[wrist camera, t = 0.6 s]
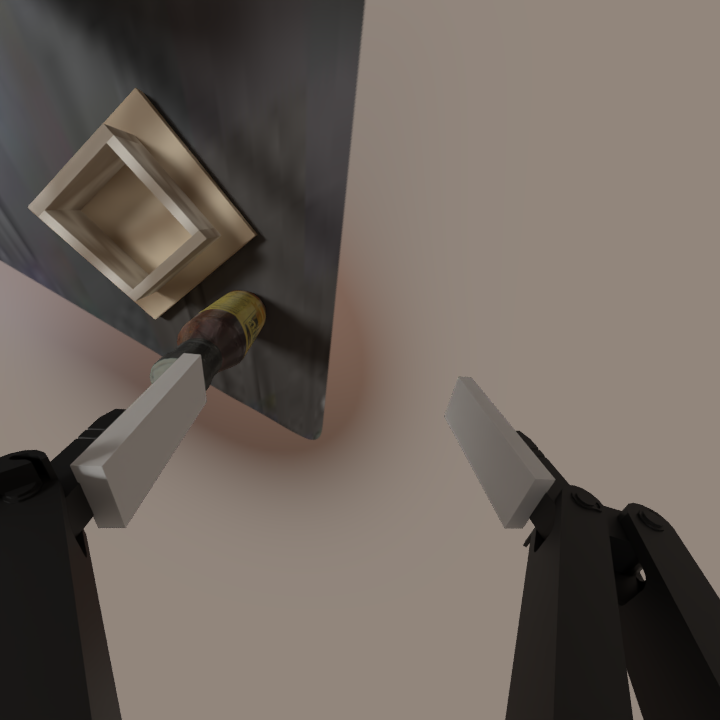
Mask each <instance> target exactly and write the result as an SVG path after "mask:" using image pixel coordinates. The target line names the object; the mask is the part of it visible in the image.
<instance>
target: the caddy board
mask: <svg viewBox="0 0 720 720" xmlns="http://www.w3.org/2000/svg"><path fill="white" fill-rule="evenodd" d="M28 209H30V210H31V211H32V212H33V213H34V214H35V215H36V216H38V217H39V218H40V219H41V220H42V221H43V222H44V223H46V224H47V225H48V226H49V227H50V228H51V229H52V230H54V231H55V232H56V233H57V234H58V235H59V236H60V237H62V238H63V239H64V240H65V241H66V242H67V243H68V244H69V245H71V246H72V247H73V248H74V249H75V250H76V251H77V252H79V253H80V254H81V255H82V256H83V257H84V258H85V259H87V260H88V261H89V262H90V263H91V264H92V265H93V266H95V267H96V268H97V269H98V270H99V271H100V272H101V273H103V274H104V275H105V276H106V277H107V278H108V279H109V280H111V281H112V282H113V283H114V284H115V285H116V286H117V287H119V288H120V289H121V290H122V291H123V292H124V293H125V294H127V295H128V296H129V297H130V298H131V299H132V300H133V301H135V302H136V303H137V304H138V305H139V306H140V307H141V308H142V309H144V310H145V311H146V312H147V313H148V314H149V315H150V316H152V317H153V318H154V319H157V318H158V317H160V316H161V315H162V314H164V313H165V312H166V311H167V310H168V309H170V308H171V307H172V306H173V305H174V304H175V303H177V302H178V301H179V300H180V299H181V298H183V297H184V296H185V295H186V294H187V293H189V292H190V291H191V290H192V289H193V288H195V287H196V286H197V285H198V284H199V283H200V282H202V281H203V280H204V279H205V278H206V277H208V276H209V275H210V274H211V273H212V272H214V271H215V270H216V269H217V268H218V267H220V266H221V265H222V264H223V263H224V262H225V261H227V260H228V259H229V258H230V257H231V256H233V255H234V254H235V253H236V252H237V251H239V250H240V249H241V248H242V247H243V246H245V245H246V244H247V243H248V242H249V241H250V240H252V239H253V238H254V237H255V236H256V235H258V234H257V233H256V232H255V231H254V229H253V228H252V227H251V226H250V224H249V223H248V222H247V221H246V220H245V218H244V217H243V216H242V215H241V213H240V212H239V211H238V210H237V208H236V207H235V206H234V205H233V203H232V202H231V201H230V200H229V198H228V197H227V196H226V195H225V193H224V192H223V191H222V190H221V189H220V187H219V186H218V185H217V184H216V182H215V181H214V180H213V179H212V177H211V176H210V175H209V174H208V172H207V171H206V170H205V169H204V167H203V166H202V165H201V164H200V162H199V161H198V160H197V159H196V158H195V156H194V155H193V154H192V153H191V151H190V150H189V149H188V148H187V146H186V145H185V144H184V143H183V141H182V140H181V139H180V138H179V136H178V135H177V134H176V133H175V131H174V130H173V129H172V128H171V127H170V125H169V124H168V123H167V122H166V120H165V119H164V118H163V117H162V115H161V114H160V113H159V112H158V110H157V109H156V108H155V107H154V105H153V104H152V103H151V102H150V100H149V99H148V98H147V97H146V96H145V94H144V93H143V92H142V91H140V90H138V89H137V88H135V89H134V90H133V91H132V92H131V93H130V94H129V95H128V97H127V98H126V99H125V100H124V101H123V102H122V103H121V104H120V105H119V107H118V108H117V109H116V110H115V111H114V112H113V113H112V114H111V115H110V117H109V118H108V119H107V120H106V121H105V122H104V123H103V124H102V125H101V126H100V127H99V128H98V129H97V130H96V132H95V133H94V134H93V135H92V136H91V137H90V138H89V139H88V141H87V142H86V143H85V144H84V145H83V146H82V147H81V148H80V149H79V151H78V152H77V153H76V154H75V155H74V156H73V157H72V158H71V159H70V161H69V162H68V163H67V164H66V165H65V166H64V167H63V168H62V169H61V171H60V172H59V173H58V174H57V175H56V176H55V177H54V178H53V179H52V181H51V182H50V183H49V184H48V185H47V186H46V187H45V188H44V190H43V191H42V192H41V193H40V194H39V195H38V196H37V197H36V198H35V200H34V201H33V202H32V203H31V204H30V205H29V206H28Z"/></svg>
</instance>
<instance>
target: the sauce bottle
mask: <svg viewBox="0 0 720 720" xmlns="http://www.w3.org/2000/svg"><path fill="white" fill-rule="evenodd" d="M265 319H266V309H265V306H264V304H263V303H262V301H261V300H260V299H259V298H258V297H257V296H256V295H255V294H253V293H251V292H248V291H240V290H239V291H238V290H236V291H232V292H230V293H227V294H226V295H224V296H223V297H221V298H220V299H219V300H217V301H216V302H214V303H213V304H211V305H210V306H208V307H207V308H205V309H204V310H203V311H201V312H200V313H198V314H197V315H196V316H195V317H194V318H193V319H192V320H190V321H189V322H188V323H187V324H185V325H184V327H183V328H182V330H181V331H180V333H179V335H178V341H177V344H178V347H177V348H176V350H174V351H173V352H171V353H167V354H166V355H164V356H163V357H162V358H161V359H159V360H158V361H157V362H156V363H155V364H154V365H153V367H152V369H151V374H150V380H151V383H152V384H153V383H154V382H155V381H156V380H157V379H158V378H159V377H160V376H161V375H162V374H163V373H164V372H165V371H166V370H167V369H168V368H169V367H170V366H171V365H172V364H173V363H174V362H175V361H176V360H177V359H178V358H179V357H180V356H181V355H182V354H183V353H187V354H199V355H201V359H202V367H203V375H204V383H205V391H206V390H207V389H208V387H209V386H210V384H211V381H212V378H213V377H214V375H216V374H217V373H218V372H221V371H223V370H226V369H228V368H231V367H233V366H235V365H237V364H238V363H240V362H241V360H242V359H243V358H244V356H245V355H246V353H247V351H248V350H249V348H250V347H251V345H252V344H253V342H254V340H255V339H256V337H257V335H258V334H259V332H260V331H261V329H262V327H263V326H264V323H265Z"/></svg>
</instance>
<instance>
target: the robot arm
mask: <svg viewBox="0 0 720 720" xmlns="http://www.w3.org/2000/svg"><path fill="white" fill-rule="evenodd" d="M206 402H207V400H206V391H205V383H204V375H203V367H202V359H201V355H199V354H187V353H183V354H182V355H181V356H180V357H179V358H178V359H177V360H176V361H175V362H174V363H173V364H172V365H171V366H170V367H169V368H168V369H167V370H166V371H165V372H164V373H163V374H162V375H161V376H160V377H159V378H158V379H157V380H156V381H155V382H154V383H153V384H152V385H151V386H150V387H149V388H148V389H147V390H146V391H145V392H144V393H143V394H142V395H141V396H140V397H139V398H138V399H137V400H136V401H135V402H134V403H133V404H132V405H131V406H130V407H129V408H128V409H114V410H113V411H111V412H109V413H107V414H105V415H103V416H101V417H100V418H98V419H97V420H96V421H95V422H94V423H93V424H92V425H91V426H90V427H89V428H88V430H85V431H84V432H83V433H82V434H81V435H80V436H79V437H78V439H76V440H74V441H73V442H72V443H71V444H70V445H69V446H68V447H66V448H65V449H64V450H63V451H62V452H61V453H60V454H59V455H58V456H56V457H55V458H54V459H53V460H52V461H51V462H50V461H49V459H48V457H47V455H46V454H45V453H44V452H41V451H38V450H25V451H19V452H15V453H11V454H8V455H5V456H2V457H0V720H122V719H121V714H120V708H119V703H118V698H117V693H116V687H115V682H114V677H113V672H112V666H111V661H110V656H109V651H108V646H107V640H106V635H105V630H104V625H103V620H102V614H101V609H100V605H99V600H98V594H97V588H96V584H95V578H94V573H93V568H92V562H91V557H90V552H89V547H88V541H87V536H86V533H85V532H84V527H85V526H86V525H87V523H88V522H89V521H90V520H91V518H92V517H94V519H95V522H96V524H97V526H98V528H126V526H127V525H128V523H129V522H130V520H131V519H132V517H133V516H134V514H135V512H136V511H137V509H138V508H139V506H140V504H141V503H142V502H143V500H144V498H145V497H146V495H147V494H148V492H149V491H150V489H151V488H152V486H153V484H154V483H155V481H156V480H157V478H158V477H159V475H160V474H161V472H162V470H163V469H164V467H165V466H166V464H167V463H168V461H169V459H170V458H171V456H172V455H173V453H174V451H175V450H176V449H177V447H178V446H179V444H180V442H181V441H182V439H183V438H184V436H185V434H186V433H187V432H188V430H189V429H190V427H191V425H192V424H193V422H194V421H195V419H196V417H197V416H198V414H199V413H200V411H201V410H202V408H203V407H204V405H205V404H206ZM444 417H445V419H446V421H447V422H448V424H449V426H450V428H451V430H452V432H453V433H454V435H455V437H456V439H457V441H458V443H459V445H460V446H461V448H462V450H463V452H464V454H465V456H466V458H467V459H468V461H469V463H470V465H471V467H472V469H473V471H474V472H475V474H476V476H477V478H478V480H479V482H480V483H481V485H482V487H483V489H484V491H485V493H486V494H487V496H488V498H489V500H490V502H491V504H492V506H493V508H494V510H495V511H496V513H497V515H498V517H499V519H500V521H501V522H502V524H503V526H504V528H523V527H524V526H525V524H526V523H527V521H528V520H529V518H530V520H531V521H532V523H533V524H534V526H535V528H534V530H533V531H532V533H531V534H530V535H529V537H528V538H527V539H526V541H525V543H524V545H523V546H525V547H527V546H528V544H529V543H530V547H529V555H528V562H527V569H526V576H525V583H524V591H523V597H522V605H521V612H520V619H519V626H518V633H517V640H516V647H515V654H514V662H513V669H512V676H511V683H510V690H509V697H508V704H507V712H506V719H505V720H633V715H632V707H631V700H630V692H629V684H628V677H627V671H628V674H629V677H630V680H631V683H632V686H633V689H634V692H635V695H636V698H637V701H638V704H639V707H640V710H641V713H642V716H643V719H644V720H720V599H719V597H718V596H717V594H716V593H715V591H714V590H713V588H712V586H711V585H710V584H709V582H708V580H707V579H706V577H705V576H704V574H703V573H702V571H701V570H700V568H699V567H698V565H697V563H696V562H695V560H694V559H693V557H692V556H691V554H690V553H689V551H688V550H687V548H686V547H685V545H684V544H683V542H682V540H681V539H680V537H679V536H678V535H677V533H676V531H675V530H674V528H673V527H672V526H671V525H670V524H669V522H667V521H666V520H665V519H664V518H663V517H662V516H661V515H659V514H658V513H656V512H654V511H653V510H651V509H649V508H647V507H645V506H643V505H640V504H636V503H631V504H628V505H627V506H626V507H625V508H624V509H623V511H619V510H616V509H612V508H609V507H606V506H603V505H602V504H601V503H600V501H599V500H598V499H597V498H596V497H594V496H593V495H592V494H591V493H589V492H587V491H586V490H584V489H582V488H580V487H577V486H573V485H569V484H568V483H567V481H566V480H565V479H564V478H563V477H562V475H561V474H560V473H559V472H558V471H557V470H556V468H555V467H554V466H553V465H552V464H551V463H550V461H549V460H548V459H547V458H545V456H544V454H543V453H542V452H541V451H540V450H538V447H537V446H536V445H535V444H534V443H533V442H532V441H531V439H529V438H528V437H527V436H525V435H524V434H523V433H522V432H520V431H515V430H514V429H513V427H512V426H511V425H510V424H509V423H508V421H507V420H506V419H505V418H504V416H503V415H502V414H501V413H500V412H499V410H498V409H497V408H496V407H495V406H494V404H493V403H492V402H491V401H490V399H489V398H488V397H487V396H486V395H485V393H484V392H483V391H482V390H481V388H480V387H479V386H478V385H477V384H476V382H475V381H474V380H473V379H472V378H471V377H458V379H457V382H456V385H455V388H454V391H453V393H452V396H451V399H450V402H449V405H448V408H447V410H446V413H445V416H444ZM642 569H643V570H644V573H645V576H646V580H645V581H644V580H643V578H642V576H641V574H640V571H641V570H642ZM626 668H627V669H626Z"/></svg>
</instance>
